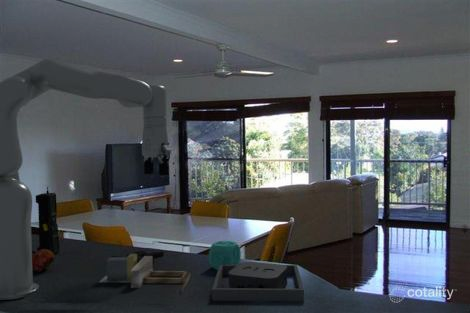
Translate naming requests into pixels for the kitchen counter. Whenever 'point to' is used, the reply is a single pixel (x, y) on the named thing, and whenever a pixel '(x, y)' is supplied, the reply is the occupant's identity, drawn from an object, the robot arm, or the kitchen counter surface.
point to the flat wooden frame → (145, 271)
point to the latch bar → (121, 267)
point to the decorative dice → (224, 254)
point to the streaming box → (258, 276)
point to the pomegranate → (42, 260)
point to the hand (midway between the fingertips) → (156, 174)
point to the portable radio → (48, 222)
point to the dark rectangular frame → (257, 289)
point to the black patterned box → (142, 253)
